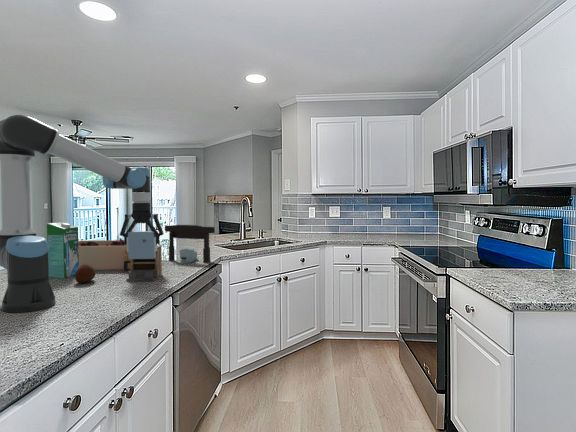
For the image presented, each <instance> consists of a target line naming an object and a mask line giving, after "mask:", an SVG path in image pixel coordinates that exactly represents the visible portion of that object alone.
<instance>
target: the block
mask: <svg viewBox="0 0 576 432" xmlns="http://www.w3.org/2000/svg"><path fill="white" fill-rule="evenodd" d="M154 237H155V234H154V232H152V230H148V231H147V230H144V231H142V230H137V231H136V230H132V231H131V232H128V253H129V259H155V258H156V252H154Z"/></svg>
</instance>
